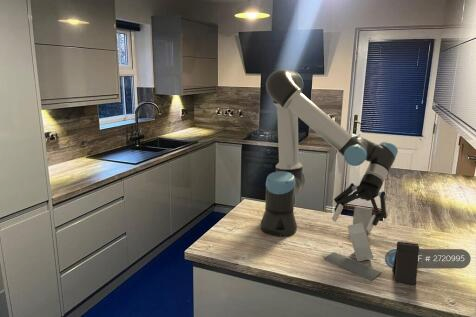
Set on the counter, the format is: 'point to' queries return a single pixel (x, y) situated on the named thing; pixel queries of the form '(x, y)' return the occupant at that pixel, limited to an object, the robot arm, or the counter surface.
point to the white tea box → (362, 216)
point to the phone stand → (406, 263)
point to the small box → (360, 242)
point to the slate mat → (353, 266)
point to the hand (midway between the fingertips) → (350, 225)
